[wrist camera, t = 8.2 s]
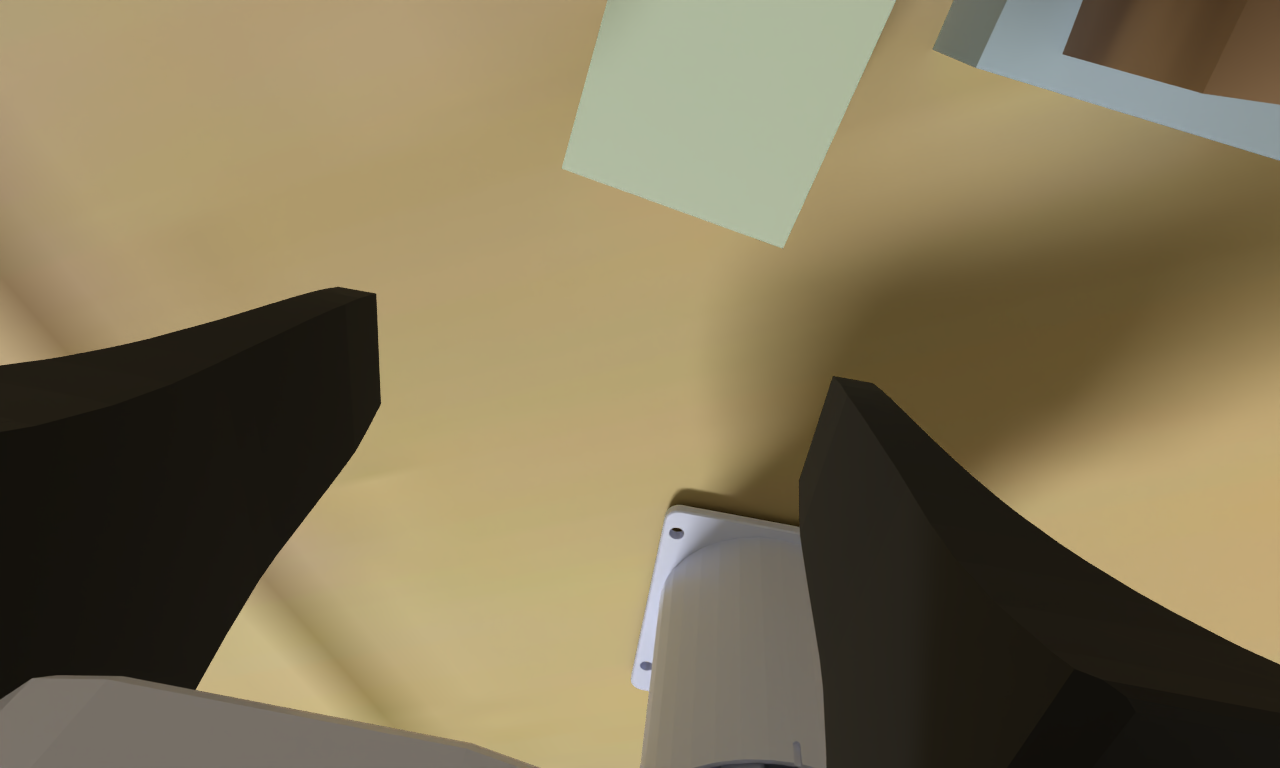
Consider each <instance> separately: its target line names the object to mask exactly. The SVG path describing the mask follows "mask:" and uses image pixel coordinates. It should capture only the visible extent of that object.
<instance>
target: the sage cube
mask: <svg viewBox="0 0 1280 768" xmlns="http://www.w3.org/2000/svg"><path fill="white" fill-rule="evenodd" d="M895 1H896V0H608V1H607V4H606V8H605V12H604V15H603V19H602V23H601V26H600V30H599V34H598V37H597V41H596V45H595V48H594V52H593V56H592V59H591V63H590V67H589V70H588V74H587V78H586V81H585V85H584V89H583V92H582V96H581V100H580V103H579V107H578V111H577V114H576V118H575V122H574V125H573V129H572V133H571V136H570V140H569V144H568V148H567V151H566V155H565V159H564V162H563V166H562V169H564V170H567V171H570V172H573V173H576V174H578V175H581V176H584V177H587V178H589V179H592V180H595V181H598V182H600V183H603V184H606V185H609V186H611V187H614V188H617V189H620V190H622V191H625V192H628V193H631V194H634V195H636V196H639V197H642V198H645V199H647V200H650V201H653V202H656V203H658V204H661V205H664V206H667V207H669V208H672V209H675V210H678V211H681V212H683V213H686V214H689V215H692V216H694V217H697V218H700V219H703V220H705V221H708V222H711V223H714V224H716V225H719V226H722V227H725V228H727V229H730V230H733V231H736V232H739V233H741V234H744V235H747V236H750V237H752V238H755V239H758V240H761V241H763V242H766V243H769V244H772V245H774V246H777V247H780V248H783V247H784V245H785V243H786V241H787V239H788V236H789V234H790V232H791V230H792V228H793V225H794V223H795V221H796V219H797V217H798V214H799V212H800V210H801V208H802V206H803V203H804V201H805V199H806V197H807V195H808V192H809V190H810V188H811V186H812V184H813V181H814V179H815V177H816V175H817V173H818V170H819V168H820V166H821V164H822V162H823V160H824V157H825V155H826V153H827V151H828V149H829V146H830V144H831V142H832V140H833V138H834V135H835V133H836V131H837V129H838V127H839V124H840V122H841V120H842V118H843V116H844V113H845V111H846V109H847V107H848V105H849V102H850V100H851V98H852V96H853V94H854V91H855V89H856V87H857V85H858V83H859V80H860V78H861V76H862V74H863V72H864V69H865V67H866V65H867V63H868V61H869V59H870V56H871V54H872V52H873V50H874V48H875V45H876V43H877V41H878V39H879V37H880V34H881V32H882V30H883V28H884V26H885V23H886V21H887V19H888V17H889V15H890V12H891V10H892V8H893V6H894V4H895Z"/></svg>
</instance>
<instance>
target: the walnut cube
mask: <svg viewBox="0 0 1280 768" xmlns="http://www.w3.org/2000/svg"><path fill="white" fill-rule="evenodd" d="M1063 55H1066V56H1070V57H1074V58H1077V59H1081V60H1084V61H1088V62H1091V63H1095V64H1099V65H1102V66H1106V67H1109V68H1113V69H1116V70H1120V71H1124V72H1127V73H1131V74H1134V75H1138V76H1141V77H1145V78H1149V79H1152V80H1156V81H1159V82H1163V83H1166V84H1170V85H1174V86H1177V87H1181V88H1184V89H1188V90H1192V91H1195V92H1199V93H1202V94H1209V95H1216V96H1223V97H1229V98H1236V99H1243V100H1250V101H1257V102H1264V103H1271V104H1278V105H1280V0H1083V1H1082V4H1081V6H1080V9H1079V11H1078V14H1077V17H1076V19H1075V22H1074V25H1073V27H1072V30H1071V32H1070V35H1069V38H1068V40H1067V43H1066V46H1065V48H1064V51H1063Z"/></svg>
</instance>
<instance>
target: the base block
mask: <svg viewBox="0 0 1280 768" xmlns="http://www.w3.org/2000/svg"><path fill="white" fill-rule="evenodd" d="M1082 1H1083V0H954V1H953V3H952V5H951V8H950V10H949V12H948V15H947V17H946V19H945V22H944V24H943V26H942V29H941V31H940V33H939V36H938V38H937V40H936V43H935V45H934V47H933V50H935V51H937V52H939V53H942V54H944V55H947V56H949V57H951V58H954V59H956V60H959V61H961V62H963V63H966V64H968V65H971V66H973V67H975V68H978V69H982V70H985V71H988V72H991V73H995V74H998V75H1001V76H1004V77H1008V78H1011V79H1014V80H1018V81H1021V82H1024V83H1027V84H1031V85H1034V86H1037V87H1040V88H1044V89H1047V90H1050V91H1053V92H1057V93H1060V94H1063V95H1067V96H1070V97H1073V98H1076V99H1080V100H1083V101H1086V102H1089V103H1093V104H1096V105H1099V106H1103V107H1106V108H1109V109H1112V110H1116V111H1119V112H1122V113H1125V114H1129V115H1132V116H1135V117H1138V118H1142V119H1145V120H1148V121H1152V122H1155V123H1158V124H1161V125H1165V126H1168V127H1171V128H1174V129H1178V130H1181V131H1184V132H1187V133H1191V134H1194V135H1197V136H1201V137H1204V138H1207V139H1210V140H1214V141H1217V142H1220V143H1223V144H1227V145H1230V146H1233V147H1236V148H1240V149H1243V150H1246V151H1250V152H1253V153H1256V154H1259V155H1263V156H1266V157H1269V158H1272V159H1276V160H1279V161H1280V105H1278V104H1271V103H1264V102H1257V101H1250V100H1243V99H1236V98H1229V97H1223V96H1216V95H1209V94H1202V93H1199V92H1195V91H1192V90H1188V89H1184V88H1181V87H1177V86H1174V85H1170V84H1166V83H1163V82H1159V81H1156V80H1152V79H1149V78H1145V77H1141V76H1138V75H1134V74H1131V73H1127V72H1124V71H1120V70H1116V69H1113V68H1109V67H1106V66H1102V65H1099V64H1095V63H1091V62H1088V61H1084V60H1081V59H1077V58H1074V57H1070V56H1066V55H1063V51H1064V48H1065V46H1066V43H1067V40H1068V38H1069V35H1070V32H1071V30H1072V27H1073V25H1074V22H1075V19H1076V17H1077V14H1078V11H1079V9H1080V6H1081V4H1082Z"/></svg>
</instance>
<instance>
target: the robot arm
mask: <svg viewBox="0 0 1280 768" xmlns="http://www.w3.org/2000/svg"><path fill="white" fill-rule="evenodd" d="M380 405H381V397H380V373H379V349H378V325H377V301H376V294H375V293H369V292H364V291H358V290H353V289H347V288H342V287H334V288H328V289H323V290H318V291H314V292H310V293H307V294H303V295H299V296H296V297H292V298H289V299H286V300H282V301H279V302H276V303H272V304H269V305H266V306H263V307H259V308H256V309H253V310H249V311H246V312H243V313H240V314H236V315H233V316H230V317H227V318H223V319H220V320H217V321H213V322H209V323H205V324H202V325H198V326H194V327H191V328H187V329H183V330H180V331H176V332H172V333H169V334H165V335H161V336H158V337H154V338H150V339H146V340H142V341H138V342H133V343H129V344H124V345H120V346H115V347H111V348H106V349H101V350H95V351H90V352H85V353H80V354H75V355H69V356H64V357H58V358H52V359H46V360H38V361H31V362H23V363H16V364H8V365H1V366H0V768H539V767H536V766H533V765H531V764H528V763H525V762H522V761H519V760H517V759H514V758H511V757H508V756H506V755H503V754H500V753H497V752H494V751H492V750H489V749H486V748H483V747H481V746H478V745H475V744H472V743H467V742H462V741H457V740H452V739H447V738H441V737H436V736H431V735H426V734H421V733H415V732H410V731H405V730H400V729H395V728H389V727H384V726H379V725H374V724H369V723H363V722H358V721H353V720H348V719H343V718H337V717H332V716H327V715H322V714H317V713H311V712H306V711H301V710H296V709H291V708H286V707H280V706H275V705H270V704H265V703H260V702H254V701H249V700H244V699H239V698H234V697H228V696H223V695H218V694H213V693H208V692H202V691H197V690H196V688H197V686H198V684H199V682H200V681H201V679H202V677H203V675H204V674H205V672H206V670H207V668H208V666H209V665H210V663H211V661H212V659H213V658H214V656H215V654H216V652H217V650H218V649H219V647H220V645H221V643H222V642H223V640H224V638H225V636H226V634H227V633H228V631H229V629H230V628H231V626H232V625H233V623H234V621H235V620H236V618H237V616H238V615H239V613H240V611H241V610H242V608H243V606H244V605H245V603H246V601H247V600H248V598H249V596H250V595H251V593H252V591H253V590H254V588H255V586H256V585H257V583H258V581H259V580H260V578H261V577H262V575H263V574H264V573H265V571H266V570H267V568H268V567H269V565H270V564H271V563H272V561H273V560H274V558H275V557H276V555H277V554H278V553H279V551H280V550H281V549H282V548H283V546H284V545H285V544H286V542H287V541H288V540H289V538H290V537H291V536H292V535H293V533H294V532H295V531H296V529H297V528H298V527H299V525H300V524H301V523H302V522H303V520H304V519H305V518H306V516H307V515H308V514H309V512H310V511H311V510H312V509H313V507H314V506H315V505H316V503H317V502H318V501H319V499H320V498H321V497H322V496H323V494H324V493H325V492H326V490H327V489H328V488H329V486H330V485H331V484H332V482H333V481H334V480H335V478H336V477H337V476H338V474H339V473H340V472H341V470H342V469H343V468H344V466H345V465H346V464H347V462H348V461H349V460H350V458H351V457H352V455H353V454H354V453H355V451H356V449H357V448H358V446H359V444H360V442H361V441H362V439H363V437H364V435H365V433H366V432H367V430H368V428H369V426H370V424H371V422H372V420H373V418H374V416H375V414H376V412H377V410H378V408H379V407H380ZM799 521H800V527H797V526H792V525H787V524H781V523H776V522H771V521H765V520H760V519H754V518H749V517H744V516H738V515H733V514H728V513H722V512H717V511H711V510H706V509H701V508H695V507H690V506H685V505H675V506H671V507H670V508H669V509H668V510H667V512H666V514H665V519H664V523H663V528H662V533H661V537H660V542H659V547H658V552H657V556H656V561H655V566H654V571H653V575H652V580H651V585H650V589H649V594H648V599H647V604H646V608H645V613H644V618H643V622H642V627H641V632H640V637H639V641H638V646H637V651H636V655H635V660H634V665H633V670H632V675H631V683H632V684H633V686H635V687H636V688H638V689H641V690H646V691H649V696H648V705H647V713H646V722H645V731H644V739H643V748H642V756H641V765H640V768H1280V665H1279V664H1277V663H1275V662H1273V661H1271V660H1268V659H1266V658H1264V657H1262V656H1260V655H1257V654H1255V653H1253V652H1251V651H1249V650H1246V649H1244V648H1242V647H1240V646H1238V645H1236V644H1234V643H1232V642H1230V641H1228V640H1226V639H1224V638H1222V637H1220V636H1218V635H1216V634H1214V633H1212V632H1210V631H1209V630H1207V629H1205V628H1203V627H1201V626H1199V625H1197V624H1195V623H1193V622H1191V621H1189V620H1187V619H1185V618H1183V617H1182V616H1180V615H1178V614H1176V613H1174V612H1172V611H1170V610H1168V609H1167V608H1165V607H1163V606H1161V605H1159V604H1158V603H1156V602H1154V601H1152V600H1150V599H1149V598H1147V597H1145V596H1143V595H1141V594H1140V593H1138V592H1136V591H1134V590H1133V589H1131V588H1129V587H1128V586H1126V585H1124V584H1123V583H1121V582H1120V581H1118V580H1116V579H1115V578H1113V577H1111V576H1110V575H1108V574H1106V573H1105V572H1103V571H1102V570H1100V569H1098V568H1097V567H1095V566H1093V565H1092V564H1090V563H1089V562H1087V561H1085V560H1084V559H1082V558H1081V557H1079V556H1078V555H1076V554H1075V553H1073V552H1072V551H1070V550H1069V549H1067V548H1065V547H1064V546H1062V545H1061V544H1060V543H1058V542H1057V541H1055V540H1054V539H1053V538H1051V537H1050V536H1048V535H1047V534H1046V533H1044V532H1043V531H1041V530H1040V529H1039V528H1037V527H1036V526H1035V525H1033V524H1032V523H1030V522H1029V521H1028V520H1026V519H1025V518H1023V517H1022V516H1021V515H1019V514H1018V513H1017V512H1015V511H1014V510H1013V509H1012V508H1010V507H1009V506H1008V505H1006V504H1005V503H1004V502H1003V501H1001V500H1000V499H999V498H998V497H997V496H995V495H994V494H993V493H992V492H991V491H989V490H988V489H987V488H986V487H985V486H984V485H982V484H981V483H980V482H979V481H978V480H976V479H975V478H974V477H973V476H972V475H971V474H969V473H968V472H967V471H966V470H965V469H964V468H963V467H962V466H960V465H959V464H958V463H957V462H956V461H955V460H954V459H953V458H952V457H951V456H950V455H948V454H947V453H946V452H945V451H944V450H943V449H942V448H941V447H940V446H939V445H938V444H937V443H936V442H935V441H934V440H933V439H932V438H931V437H929V436H928V435H927V434H926V433H925V432H924V431H923V430H922V429H921V428H920V427H919V426H918V425H917V424H916V423H915V422H914V421H913V420H912V419H911V418H910V417H909V416H908V415H907V414H906V413H905V412H904V411H903V410H902V409H901V408H900V407H899V406H898V405H897V404H896V403H895V402H894V401H893V400H892V399H891V398H889V397H888V396H887V395H886V394H885V393H884V392H883V391H882V390H881V389H879V388H878V387H877V386H876V385H874V384H873V383H869V382H863V381H857V380H852V379H846V378H841V377H835V376H833V378H832V381H831V384H830V387H829V390H828V393H827V397H826V400H825V403H824V406H823V409H822V412H821V415H820V418H819V421H818V424H817V427H816V430H815V434H814V437H813V440H812V443H811V446H810V449H809V452H808V455H807V458H806V461H805V464H804V467H803V471H802V474H801V477H800V480H799ZM672 528H680V529H682V531H680V532H676V531H673V530H672Z"/></svg>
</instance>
